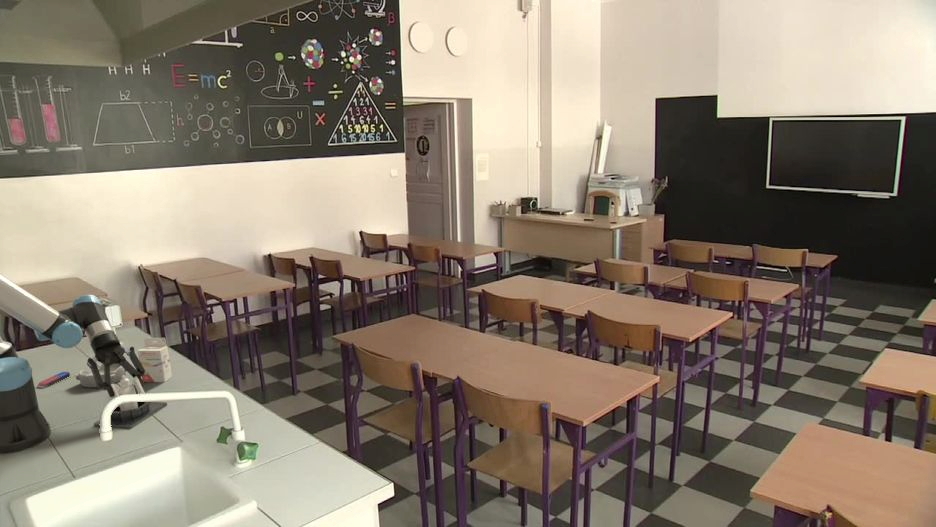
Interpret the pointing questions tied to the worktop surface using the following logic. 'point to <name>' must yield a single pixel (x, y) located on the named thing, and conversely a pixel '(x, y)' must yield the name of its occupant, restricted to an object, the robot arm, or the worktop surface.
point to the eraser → (53, 380)
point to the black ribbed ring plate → (134, 414)
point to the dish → (89, 380)
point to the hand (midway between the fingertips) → (131, 400)
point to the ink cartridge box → (155, 360)
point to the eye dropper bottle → (127, 389)
